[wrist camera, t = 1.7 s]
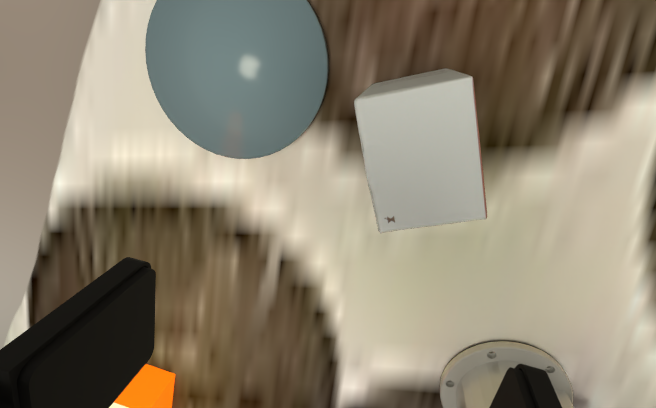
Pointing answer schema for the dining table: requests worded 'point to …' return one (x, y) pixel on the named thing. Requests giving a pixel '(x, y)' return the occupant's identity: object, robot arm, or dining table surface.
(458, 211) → the small box
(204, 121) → the dish
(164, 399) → the orange juice
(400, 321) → the dining table surface
